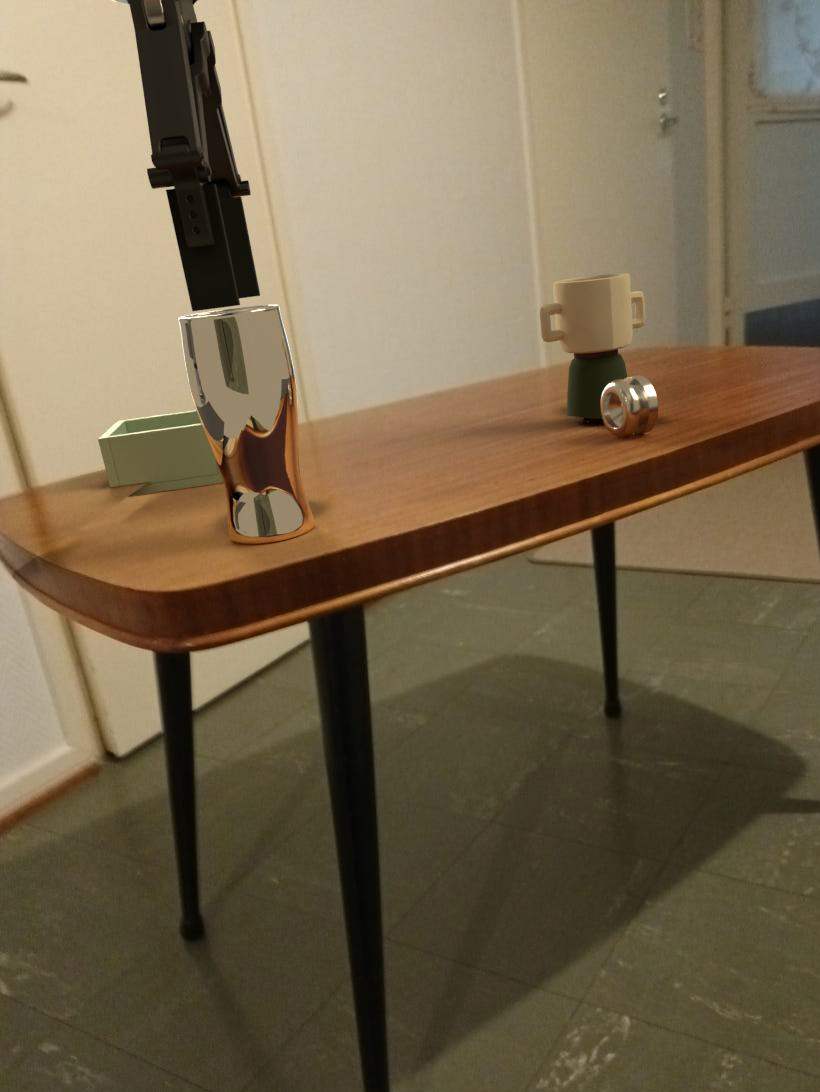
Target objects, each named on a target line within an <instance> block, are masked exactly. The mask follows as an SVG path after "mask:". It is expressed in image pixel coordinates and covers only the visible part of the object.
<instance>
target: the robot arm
mask: <svg viewBox="0 0 820 1092" xmlns="http://www.w3.org/2000/svg"><path fill="white" fill-rule="evenodd" d="M111 1H112V2H115V3H119V4H122V5H127V6H128V5H129V8H130V14H131V19H132V24H133V29H134V35H135V42H136V43H135V44H136V50H137V56H138V57H137V58H138V62H139V63H138V64H139V71H140V77H141V85H142V91H143V99H144V106H145V112H146V121H147V127H148V133H149V141H150V149H151V154H150V159H151V163H152V165H153V166H154V167H150V168H146V173H147V178H148V182H149V184H150V187H151V189H152V190H156V189H164V188H165V192H166V198H167V201H168V202H167V203H168V207H169V211H170V215H171V221H172V224H173V229H174V233H175V238H176V242H177V243H176V244H177V247H178V252H179V257H180V261H181V266H182V270H183V275H184V279H185V284H186V288H187V294H188V298H189V303H190V307H191V312H199V311H206V310H215V309H221V308H230V307H236V306H241V301H240V299H246V298H254V297H260V296H261V292H260V286H259V280H258V276H257V271H256V266H255V261H254V255H253V250H252V245H251V240H250V234H249V230H248V229H249V228H248V224H247V219H246V214H245V208H244V203H243V198H242V197H247V196H251V193H252V192H251V187H250V182H249V179H248V180H242V177H241V174H239V170H238V167H237V162H236V159H235V155H234V154H235V153H234V151H233V150H234V149H233V145H232V142H231V137H230V133H229V129H228V124H227V120H226V116H225V112H224V107H223V98H222V88H221V83H220V79H219V74H218V72H217V71H218V70H217V69H216V68H217V67H216V64H217V60H216V47H215V43H214V39H213V35H212V32H211V30H208V29H207V24H206V22H205V21H198V18H197V13H196V11H195V7H194V5H195V4H196V3H197V2H198V1H199V0H111ZM166 188H167V189H166ZM168 188H169V189H168Z"/></svg>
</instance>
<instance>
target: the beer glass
mask: <svg viewBox="0 0 820 1092" xmlns="http://www.w3.org/2000/svg"><path fill="white" fill-rule="evenodd" d="M177 319H178V322H179V323H178V324H179V329H180V335H181V344H182V351H183V357H184V363H185V371H186V375H187V380H188V385H189V389H190V393H191V397H192V398H191V399H192V402H193V405H194V407H195V410H196V411H197V414H198V417H199V420H200V423H201V425H202V428H203V430H204V433H205V435H206V438H207V440H208V443H209V445H210V448H211V450H212V453H213V455H214V458H215V460H216V463H217V465H218V468H219V471H220V473H221V476H222V480H223V483H222V484H223V487H224V491H225V497H226V508H227V532H228V538H229V539H230V541H232V542H234V543H237V544H243V545H260V544H269V543H275V542H280V541H281V542H282V541H286V540H289V539H293V538H296V537H299V536H301V535H304V534H306V533H308V532H309V531H311V530H312V529H313V528H314V527H315V524H316V522H315V521H316V520H315V517H314V514H313V511H312V508H311V506H310V503H309V501H308V498H307V496H306V493H305V489H304V486H303V481H302V476H301V469H300V468H301V467H300V456H299V455H300V453H299V451H300V450H299V406H298V405H299V402H298V387H297V382H296V374H295V368H294V363H293V358H292V353H291V349H290V345H289V340H288V337H287V333H286V329H285V326H284V321H283V318H282V313H281V309H280V305H279V304H264V305H253V306H245V307H235V308H227V309H219V310H213V311H207V312H200V313H193V314H188V315H183V316H180V317H178V318H177Z"/></svg>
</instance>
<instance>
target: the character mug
mask: <svg viewBox="0 0 820 1092" xmlns="http://www.w3.org/2000/svg"><path fill="white" fill-rule="evenodd" d="M552 286H553V287H552V289H553V290H552V292H553V303H547V304H544V305H542V306H541V307H540V309H539V322H540V333H541V338H542V341H543V342H546V343H553V342H557V345H558V346H559V349H560V350H561V351H563V352H566V353H568V354H573V358H572V360H570V364H569V367H568V377H567V378H568V379H567V395H566V416H567V417H574V418H575V417H576V418H583V421H584V422H585V423H588V422H587V421H589V422H590V421H591V419H603V418H602V415H601V407H600V402H601V395H602V392H603V390H604V388H605V386H606V385H607V384H608V383H609V382H611V381H613V380H616V379H623V380H624V379H625V378H627V377H628V373H627V367H626V361H625V360H624V358H623V357H622V354H620V353H619V350H620V349H624V348H626V347H628V346H631V344H632V341H633V336H634V330H635V329H640V328H642V327H643V326H645V323H646V320H647V317H646V316H647V315H646V297H645V295H644V292H643V291H640V290H636V291H635V290H634V291H632V289H631V275H630V273H611V274H598V275H587V276H586V275H585V276H580V277H579V276H578V277H573V278H565V279H561V280H557V281H554V282H553V285H552ZM632 303H633V304H634V314H635V317H633V309H632V308H633V307H632ZM551 316H554V321H555V323H554V324H555V329H553V330H552V324H551Z"/></svg>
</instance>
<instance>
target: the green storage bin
mask: <svg viewBox="0 0 820 1092" xmlns="http://www.w3.org/2000/svg"><path fill="white" fill-rule="evenodd" d="M97 442H98V445H99V449H100V454H101V457H102V461H103V464H104V468H105V472H106V477H107V480H108V484H109V487H110V488H114V487H122V486H128V485H135V484H142V483H146V484H144V485H143V486H141V487H140V488H138V489H136V490H135V491H134V492H132V493H131V494H129V495H127V498H130V497H136V496H137V497H138V496H143V495H150V494H157V493H162V492H170V491H177V490H183V489H191V488H198V487H203V486H211V485H218V484H223V480H222V476H221V473H220V471H219V468H218V465H217V463H216V460H215V458H214V455H213V453H212V450H211V448H210V445H209V443H208V440H207V438H206V435H205V433H204V430H203V428H202V425H201V423H200V420H199V417H198V414H197V411H196V409H195V410H187V411H180V412H173V413H166V414H165V413H164V414H159V415H158V414H157V415H151V416H144V417H136V418H130V419H121V420H117V421H116V422H115V423H114V424H113V425H111V427H110V428H108V429H107V430H106V431H105V432H104V433H103V434H102V435H100V436H99V437H98V438H97Z"/></svg>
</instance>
